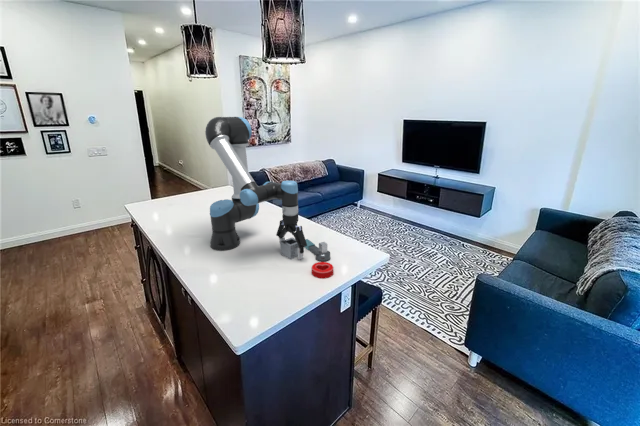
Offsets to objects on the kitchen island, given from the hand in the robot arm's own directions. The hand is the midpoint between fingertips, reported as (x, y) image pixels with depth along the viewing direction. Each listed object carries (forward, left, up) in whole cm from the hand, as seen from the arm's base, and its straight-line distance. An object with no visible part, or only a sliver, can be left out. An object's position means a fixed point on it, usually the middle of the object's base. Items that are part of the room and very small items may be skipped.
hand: (291, 254), depth 146 cm
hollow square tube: (0, 0, 0) cm, 0 cm away
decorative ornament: (+23, -2, -1) cm, 23 cm away
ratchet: (+7, +10, 0) cm, 12 cm away
